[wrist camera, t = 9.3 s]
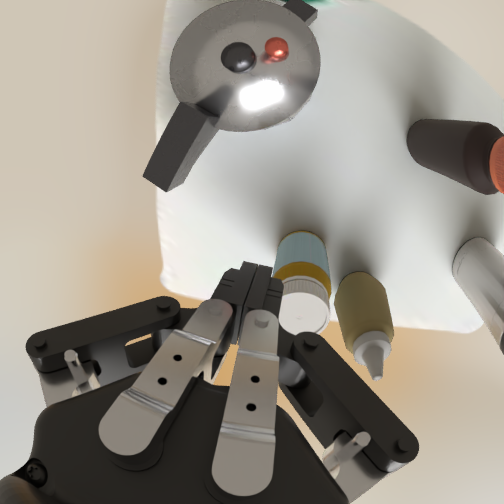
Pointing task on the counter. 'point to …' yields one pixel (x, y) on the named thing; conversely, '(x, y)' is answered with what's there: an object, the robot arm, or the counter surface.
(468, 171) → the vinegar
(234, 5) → the lid
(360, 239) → the counter surface
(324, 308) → the bottle
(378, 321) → the squeeze bottle
